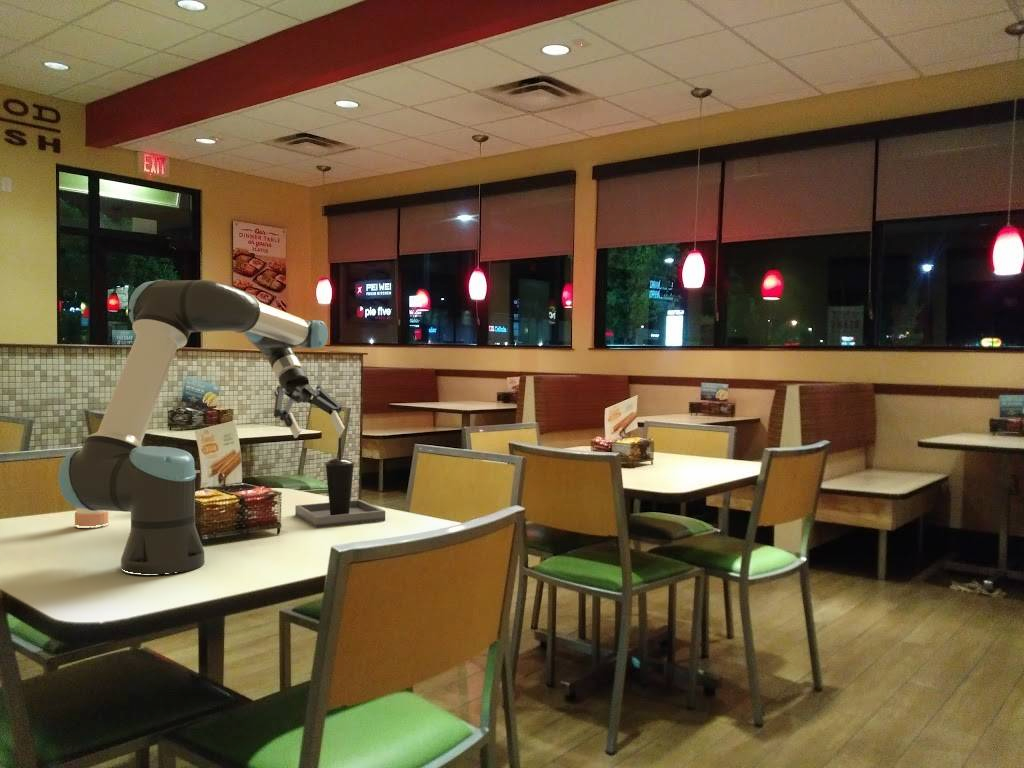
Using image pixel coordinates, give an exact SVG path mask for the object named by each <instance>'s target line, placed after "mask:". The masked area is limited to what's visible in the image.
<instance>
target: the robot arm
mask: <svg viewBox="0 0 1024 768" xmlns="http://www.w3.org/2000/svg"><path fill="white" fill-rule="evenodd" d="M128 310H130V311H129V312H128V317H129V321H130V322H131V324H132V330H133V333H134V334H135V338H134V341H133V342H132V346H131V349H130V351H129V353H128V356H127V358H126V361H125V363H124V366H123V368H122V370H121V373H120V375H119V378H118V380H117V383H116V386H115V388H114V390H113V393H112V395H111V398H110V400H109V403H108V405H107V408H106V410H105V413H104V414H103V417H102V420H101V422H100V425H99V428H98V431H96V432H94V433H91V434H89V435H87V437H86V438H85V440H84V443H83V445H82V448H81V449H78V450H75V451H71V452H70V453H69V454H67V455H65V456H64V458H63V459H62V460H61V463H60V465H59V468H58V473H57V483H58V484H57V485H58V488H59V489H60V494H61V496H62V498H63V499H64V500H65V501H66V502H67V504H68V505H70V506H72V507H74V508H75V509H77V508H82V509H88V510H91V511H97V510H106V511H108V512H110V511H111V512H125V513H126V512H127V513H128V512H129V513H130V532H129V534H128V538H127V541H126V543H125V547H124V549H123V552H122V556H121V559H120V569H121V568H122V569H123V570H125V571H128V572H133V573H141V574H165V573H175V572H181V573H184V572H183V571H185V572H189V571H193V570H195V569H199V568H200V567H202V566H203V565H204V564H205V549H204V546H203V543H202V541H201V539H200V535H199V532H198V531H197V528H196V527H197V526H196V509H195V477H196V472H195V470H196V468H195V459H194V457H193V455H192V454H191V452H189V451H186V450H184V449H181V448H176V447H170V446H156V445H155V446H154V445H147V446H145V445H144V446H143V445H142V443H143V440H144V438H145V435H146V433H147V430H148V427H149V424H150V422H151V418H152V415H153V414H154V411H155V408H156V406H157V403H158V401H159V400H158V399H159V398H160V394H161V392H162V390H163V386H164V384H165V381H166V378H167V375H168V373H169V370H170V368H171V365H172V362H173V360H174V358H175V356H176V355H175V354H176V351H177V350H178V349H181V348H183V347H185V346H186V345H187V343H188V341H189V338H190V335H191V333H207V332H208V333H209V332H235V333H241V334H242V333H243V335H244V336H245V337H246V338H247V339H248V341H249V342H250V343H251V344H252V345H253V346H254V347H255V348H256V349H258V350H259V352H260V353H261V354H262V355H263V356H264V357H265V358H266V359H267V361H268V363H269V365H270V366H271V369H272V371H273V373H274V375H275V377H276V379H277V381H278V383H279V385H277V387H275V390H274V396H275V401H274V409H273V416H274V417H275V418H279V420H280V421H283V422H284V423H285V426H286V427H287V428H288V427H289V429H290V432H291V433H292V436H293V438H294V439H297V438H298V437H299V435H300V433H301V428H300V426H299V424H298V421H297V419H296V418H295V416H294V415H293V412H290V410H291V409H292V407H293V406H292V405H293V404H294V402H296V403H308V404H310V405H314V406H316V407H317V408H319V409H320V410H322V411H324V412H326V413H327V414H328V415H329V419H330V421H331V423H332V424H333V427H334V428H335V431H336V432H337V434H338V435H340V436H341V435H342V434H343V432H344V430H345V429H346V427H345V425H344V423H343V418H342V416H341V414H340V413H341V412H342V410H343V406H342V405H341V404H340V403H339V402H338V401H337V400H335V399H334V398H333V397H332V396H331V395H330V394H329V393H328V392H326V391H325V390H324V389H323V386H322V385H320V384H317V386H316V387H313V386H311V385H310V381H309V378H308V375H307V374H306V372H305V370H304V367H303V366H302V363H301V362H300V360H299V358H298V357H297V355H296V354H295V352H294V350H293V349H319V348H320V349H322V348H323V347H325V346H326V344H327V342H328V338H329V337H328V336H329V331H328V327H327V325H326V323H325V322H324V321H322V320H315V319H309V320H307V319H305V318H302V317H298V316H296V315H294V314H291V313H289V312H286V311H283V310H281V309H278V308H276V307H273V306H270V305H268V304H266V303H263V302H260V301H259V300H258V299H257V298H256V296H255V295H253V294H251V293H250V292H247V291H244V290H242V289H239V288H237V287H234V286H231V285H228V284H225V283H222V282H217V281H214V280H208V279H198V280H196V279H191V280H190V279H189V280H184V279H183V280H168V279H157V280H153V281H146V282H144V283H141V284H140V285H139V286H137V287H136V288H135V289H134V290H133V292H132V293H131V295H130V298H129V302H128ZM284 395H286V396H287V397H288V398H289V400H288V401H287V403H286V405H285V407H284V409H282V408H283V399H284ZM312 396H313V397H312ZM175 574H176V573H175Z"/></svg>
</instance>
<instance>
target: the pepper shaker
mask: <svg viewBox="0 0 1024 768" xmlns="http://www.w3.org/2000/svg"><path fill="white" fill-rule="evenodd" d="M106 523H108V524H109V511H106V510H97V511H91V510H88V509H82V508H76V511H75V513H74V526H75V525H79V526H96V525H103V524H106Z"/></svg>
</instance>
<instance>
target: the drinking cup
mask: <svg viewBox="0 0 1024 768" xmlns="http://www.w3.org/2000/svg"><path fill="white" fill-rule="evenodd" d="M337 446H338V449H337V450H338V456H337V457H334V458H332V459H330V460H328V461H325V462H324V465H325V470H326V471H325V472H326V483H327V484H326V485H327V492H328V493H327V494H328V503H329V506H330V515H340V514H349V510H350V501H351V498H352V488H353V487H352V486H353V476H354V465H356V462H355V461H353V460H351V459H350V458H347V457H342V438H341V437H338V445H337Z"/></svg>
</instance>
